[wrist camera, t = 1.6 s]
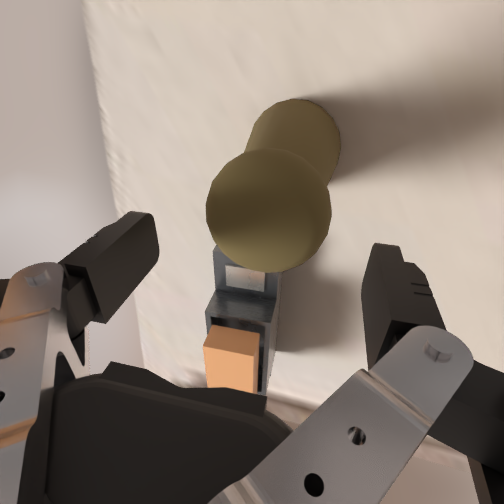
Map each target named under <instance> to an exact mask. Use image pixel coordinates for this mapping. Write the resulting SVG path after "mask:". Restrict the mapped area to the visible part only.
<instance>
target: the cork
mask: <svg viewBox="0 0 504 504" xmlns="http://www.w3.org/2000/svg"><path fill="white" fill-rule="evenodd" d="M340 150H341V143H340V134H339V130H338V128H337V126H336V124H335V122H334V120H333V118H332V117H331V116H330V115H329V114H328V113H327V112H326V111H325V110H324V109H323V108H322V107H321V106H318V105H316V104H314V103H312V102H310V101H308V100H298V99H290V100H286V101H282V102H278V103H276V104H274V105H273V106H271V107H270V108H268V109H267V110H265V111H264V112H263V113H262V115H261V116H260V117H259V118H258V120H257V121H256V122H255V124H254V127H253V130H252V132H251V135H250V138H249V140H248V143H247V146H246V149H245V151H244V153H243V154H241V155H239V156H238V157H236V158H234V159H233V160H231V161H230V162H228V163H227V164H226V165H225V166H224V167H223V169H222V170H221V171H220V172H219V174H218V175H217V176H216V178H215V179H214V180H213V181H212V184H211V188H210V191H209V194H208V197H207V201H206V222H207V224H208V227H209V230H210V232H211V235H212V237H213V240H214V242H215V243H216V244H217V246H218V247H219V248H220V250H221V251H222V252H223V254H225V255H226V256H227V257H228V258H230V259H231V260H232V261H234V262H235V263H236V264H238V265H240V266H243V267H245V268H247V269H249V270H253V271H259V272H264V273H272V272H283V271H285V270H288V269H291V268H294V267H296V266H299V265H301V264H303V263H304V262H305V261H307V260H308V259H309V258H311V257H312V256H313V255H314V254H315V253H316V252H317V250H318V249H319V247H320V246H321V244H322V242H323V241H324V239H325V238H326V236H327V234H328V230H329V226H330V221H331V217H332V210H331V202H330V195H329V191H328V189H327V185H328V183H329V181H330V179H331V176H332V174H333V172H334V170H335V167H336V165H337V163H338V159H339V154H340Z"/></svg>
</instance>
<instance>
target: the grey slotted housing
mask: <svg viewBox="0 0 504 504" xmlns="http://www.w3.org/2000/svg"><path fill="white" fill-rule="evenodd" d="M213 261H214V274H215V288H216V290H215V292H214V294H213V296H212V298H211V300H210V302H209V304H208V306H207V308H206V310H205V317H206V326H207V335H208V333H209V331H210V329H211V326H212V325H217V326H222V327H228V328H233V329H238V330H244V331H249V332H254V333H259V334H260V338H259V362H258V386H257V394H260V395H265V396H266V392H267V387H268V382H269V378H270V376H271V371H272V366H273V361H274V356H275V350H276V339H277V328H278V316H279V305H280V294H281V283H282V272H272V273H264V272H259V271H253V270H249V269H247V268H245V267H243V266H240V265H238V264H236V263H235V262H234V261H232V260H231V259H230V258H228V257H227V256H226V255H225V254H223V252H222V251H221V250H220V248H219V247H218V246H217V245H216V247H215V248H214V250H213Z"/></svg>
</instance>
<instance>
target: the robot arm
mask: <svg viewBox="0 0 504 504" xmlns="http://www.w3.org/2000/svg"><path fill="white" fill-rule="evenodd" d="M158 258H159V244H158V238H157V233H156V227H155V222H154V218H153V216H152V215H151V214H150V213H143V212H135V211H130V212H128V213H127V214H125V215H124V216H123V217H122V218H120V219H119V220H118V221H117V222H115V223H113V224H111V225H108V226H106V227H104V228H102V229H101V230H100V231H98V232H97V233H96V234H95V235H94V237H91V238H89V239H88V240H87V241H86V243H83V244H82V245H80V246H79V247H78V248H77V249H75V250H74V251H73V252H71V253H70V254H69V255H67V256H66V257H65V258H64V259H62V260H61V261H60V262H58V263H54V262H43V263H38V264H34V265H31V266H28V267H26V268H24V269H22V270H20V271H18V272H17V273H16V274H14V275H13V276H12V278H11V279H0V504H379V503H380V502H381V501H382V499H383V498H384V496H385V495H386V493H387V492H388V490H389V489H390V487H391V486H392V484H393V483H394V482H395V480H396V479H397V477H398V476H399V474H400V473H401V471H402V470H403V469H404V467H405V466H406V464H407V463H408V461H409V460H410V458H411V457H412V456H413V454H414V453H415V451H416V450H417V448H418V447H419V445H420V444H421V443H422V441H423V440H424V438H425V437H426V435H429V436H431V437H433V438H435V439H436V440H438V441H440V442H442V443H444V444H446V445H448V446H450V447H452V448H453V449H455V450H457V451H459V452H461V453H463V454H465V455H467V458H468V462H469V466H470V469H471V473H472V477H473V481H474V485H475V489H476V492H477V496H478V500H479V504H504V373H503V372H500V371H498V370H495V369H493V368H490V367H488V366H485V365H483V364H481V363H479V362H477V361H475V360H473V356H472V353H471V351H470V350H469V348H468V347H467V346H466V345H465V344H464V343H463V342H462V341H461V340H460V339H459V338H457V337H456V336H455V335H453V334H451V333H449V332H448V331H447V330H446V328H445V325H444V322H443V320H442V317H441V315H440V312H439V309H438V307H437V304H436V302H435V299H434V297H433V294H432V291H431V289H430V287H429V284H428V281H427V278H426V276H425V274H424V273H423V272H422V271H421V270H420V269H419V268H418V267H417V266H416V265H415V264H414V263H409V262H404V260H403V256H402V253H401V250H400V247H399V246H395V245H388V244H380V243H374V245H373V247H372V250H371V253H370V257H369V260H368V264H367V268H366V271H365V275H364V278H363V282H362V289H361V300H362V311H363V321H364V331H365V342H366V352H367V362H368V372H367V371H366V370H364V369H360V370H358V371H357V372H356V373H354V374H353V375H352V376H351V377H350V378H349V379H348V380H347V381H346V382H345V383H344V384H343V385H342V386H341V387H340V388H339V389H338V390H336V391H335V392H334V393H333V394H332V395H331V396H330V397H329V398H328V399H327V400H326V401H325V402H324V403H323V404H322V405H321V406H320V407H319V408H318V409H316V410H315V411H314V412H313V413H312V414H311V415H310V416H309V417H308V418H307V419H306V420H305V421H304V422H303V423H302V424H301V425H300V426H299V427H298V428H296V429H295V430H294V431H293V430H292V428H291V427H289V426H288V425H287V424H286V423H285V422H284V421H283V420H281V419H280V418H278V417H277V416H276V415H274V414H272V413H271V412H269V411H267V410H266V404H267V396H263V395H258V394H254V393H250V392H245V391H241V390H236V389H232V388H227V387H212V388H181V387H178V386H176V385H174V384H172V383H170V382H169V381H167V380H165V379H163V378H161V377H160V376H158V375H156V374H154V373H152V372H151V371H149V370H147V369H143V368H139V367H134V366H130V365H125V364H121V363H117V362H112V361H111V362H110V363H109V365H108V366H107V368H106V369H105V370H104V372H103V373H102V374H94V375H90V367H89V366H90V365H89V364H90V361H89V331H88V328H87V325H88V323H89V322H90V321H94V322H99V323H104V324H106V323H107V322H108V321H109V319H110V318H111V317H112V316H113V315H114V313H115V312H116V311H117V310H118V309H119V307H120V306H121V305H122V304H123V303H124V301H125V300H126V299H127V298H128V297H129V295H130V294H131V293H132V292H133V291H134V289H135V288H136V287H137V286H138V285H139V283H140V282H141V281H142V280H143V279H144V277H145V276H146V275H147V274H148V273H149V271H150V270H151V269H152V268H153V267H154V265H155V264H156V263H157V261H158Z"/></svg>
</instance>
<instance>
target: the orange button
mask: <svg viewBox="0 0 504 504" xmlns="http://www.w3.org/2000/svg"><path fill="white" fill-rule="evenodd" d="M259 338H260V334H259V333H254V332H249V331H244V330H238V329H233V328H228V327H222V326H217V325H212V326H211V329H210V331H209V333H208V335H207V338H206V340H205V342H204V344H203V352H204V360H205V369H206V377H207V385H208V388H212V387H227V388H232V389H236V390H241V391H245V392H250V393H254V394H257V386H258V362H259Z"/></svg>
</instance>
